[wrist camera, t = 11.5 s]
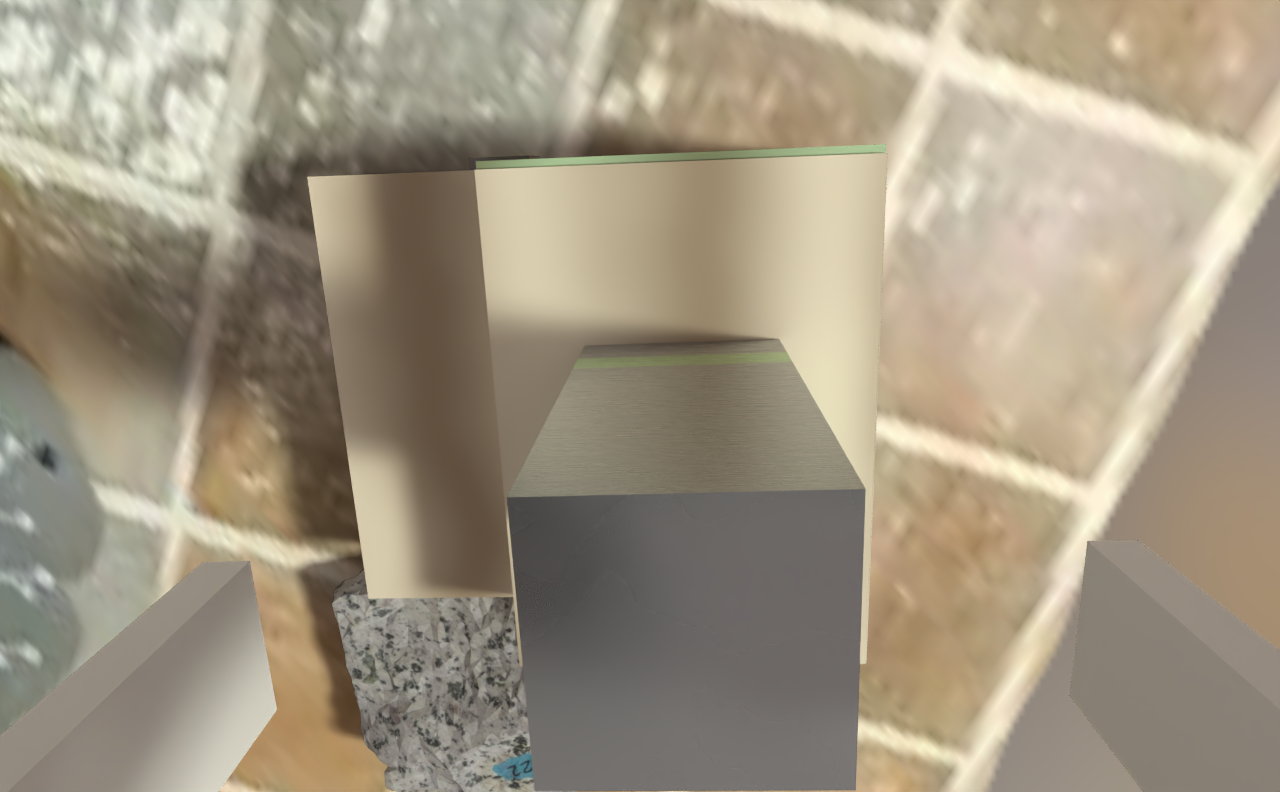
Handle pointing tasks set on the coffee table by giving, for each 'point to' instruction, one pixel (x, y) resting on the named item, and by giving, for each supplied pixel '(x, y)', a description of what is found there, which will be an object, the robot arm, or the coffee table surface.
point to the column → (689, 576)
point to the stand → (574, 319)
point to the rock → (438, 689)
